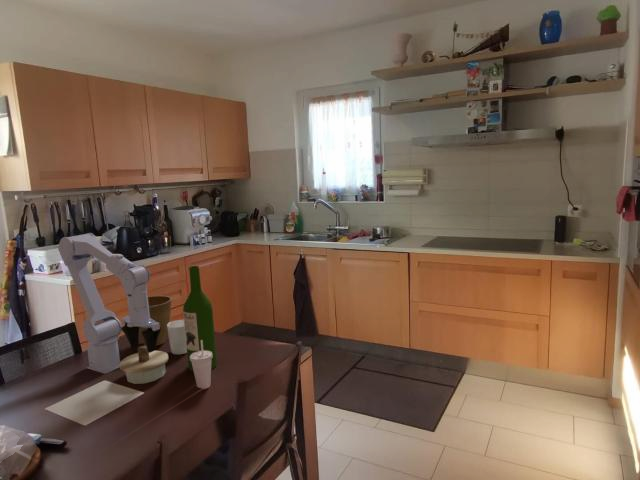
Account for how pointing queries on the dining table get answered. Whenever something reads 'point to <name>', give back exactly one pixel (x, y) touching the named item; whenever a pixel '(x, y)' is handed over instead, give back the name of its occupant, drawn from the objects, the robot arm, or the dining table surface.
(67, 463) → the dining table surface
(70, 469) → the dining table surface
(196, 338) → the wine bottle
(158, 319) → the plant pot
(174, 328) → the white cup
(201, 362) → the smoothie
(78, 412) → the mat
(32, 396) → the dining table surface
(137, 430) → the dining table surface
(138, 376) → the bowl
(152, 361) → the lid
